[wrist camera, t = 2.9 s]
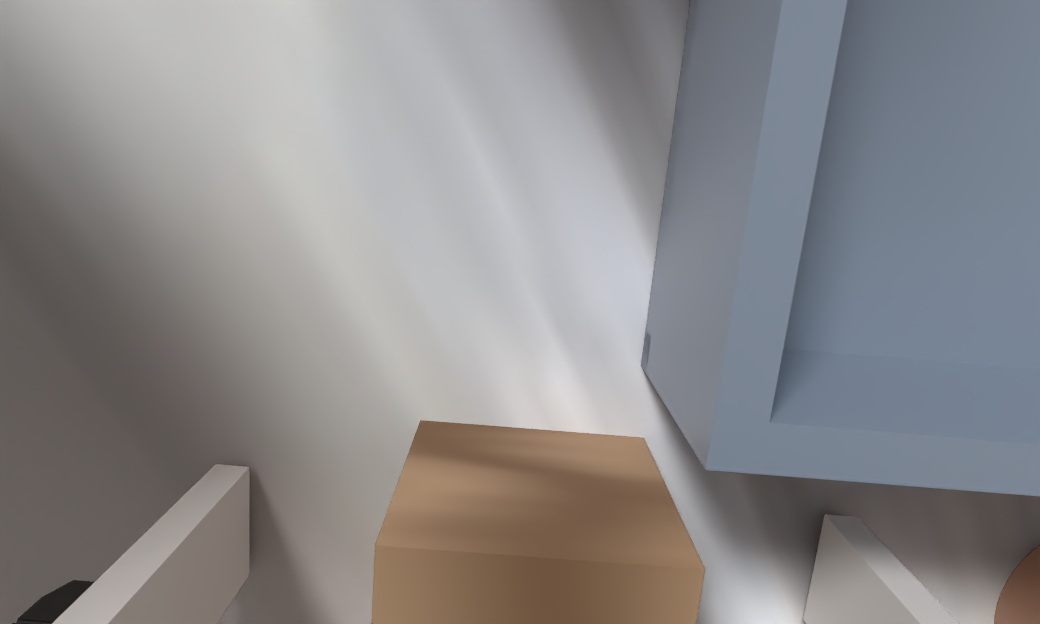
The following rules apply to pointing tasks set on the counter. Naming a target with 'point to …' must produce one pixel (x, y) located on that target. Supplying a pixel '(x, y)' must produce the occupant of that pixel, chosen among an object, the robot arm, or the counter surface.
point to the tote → (855, 242)
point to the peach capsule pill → (1021, 593)
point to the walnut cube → (532, 532)
